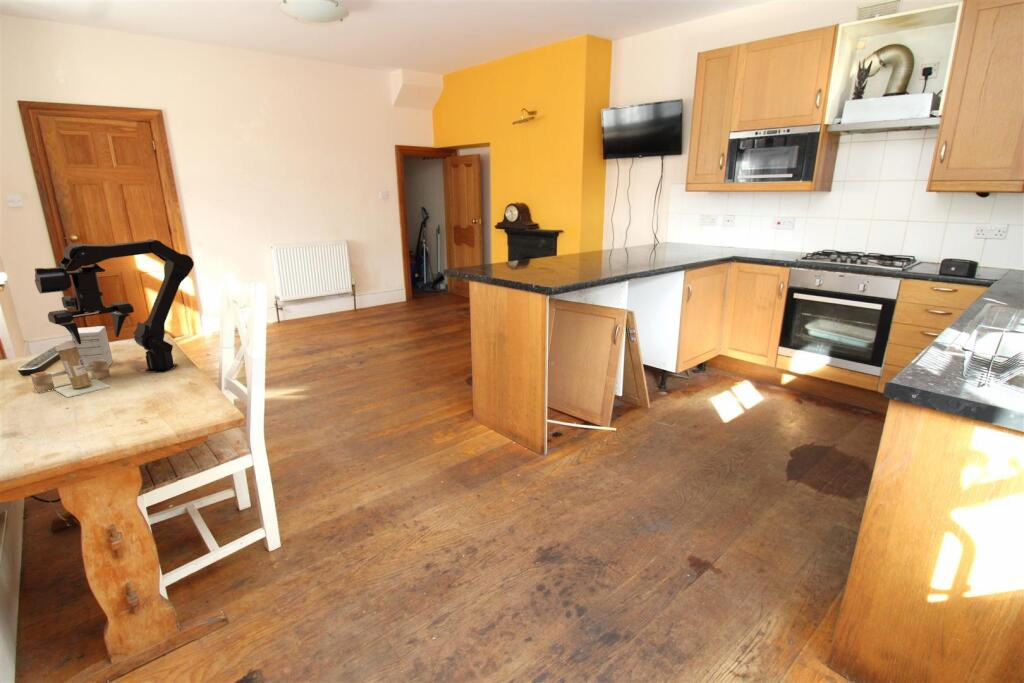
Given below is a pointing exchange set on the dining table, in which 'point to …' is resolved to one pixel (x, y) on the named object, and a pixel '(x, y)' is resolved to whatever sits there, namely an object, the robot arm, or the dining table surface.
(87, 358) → the supplement box
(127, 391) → the dining table surface
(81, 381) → the sprinkles bottle
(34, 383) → the handrail
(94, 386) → the pad
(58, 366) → the dining table surface
